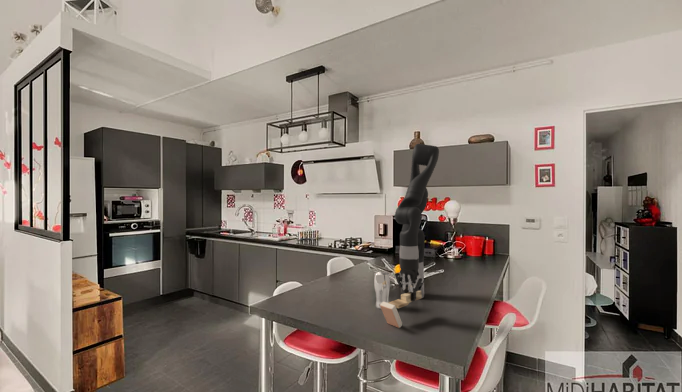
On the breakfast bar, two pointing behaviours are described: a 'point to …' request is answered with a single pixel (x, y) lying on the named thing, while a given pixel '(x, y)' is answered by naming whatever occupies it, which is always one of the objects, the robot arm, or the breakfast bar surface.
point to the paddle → (405, 299)
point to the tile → (391, 314)
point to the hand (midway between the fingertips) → (409, 299)
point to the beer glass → (381, 287)
